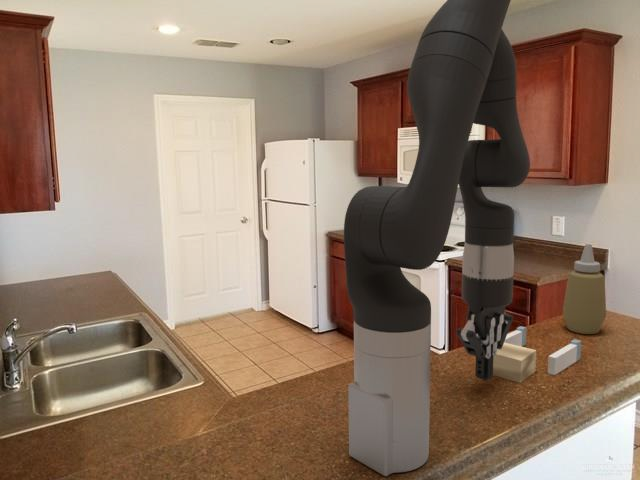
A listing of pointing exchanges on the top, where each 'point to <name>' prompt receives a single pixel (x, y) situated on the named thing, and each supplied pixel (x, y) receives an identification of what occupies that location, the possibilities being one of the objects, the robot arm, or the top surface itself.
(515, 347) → the maple block
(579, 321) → the squeeze bottle
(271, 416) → the top surface
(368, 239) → the robot arm
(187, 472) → the top surface
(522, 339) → the corridor
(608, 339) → the top surface
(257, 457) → the top surface
